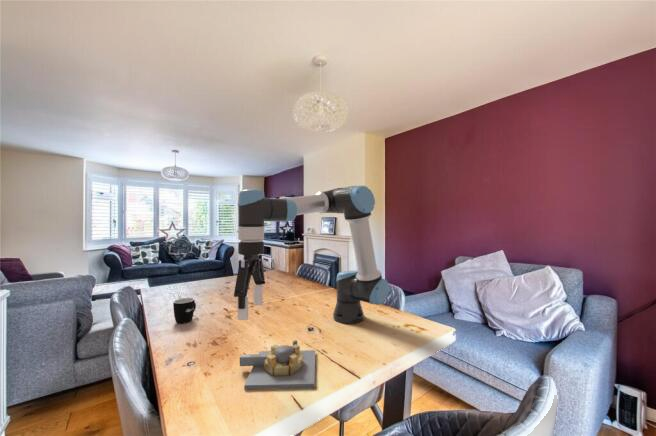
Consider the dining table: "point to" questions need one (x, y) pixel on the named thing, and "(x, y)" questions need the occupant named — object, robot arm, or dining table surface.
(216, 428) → the dining table surface
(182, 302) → the mug
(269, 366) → the ring nut
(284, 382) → the hub plate
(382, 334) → the dining table surface
